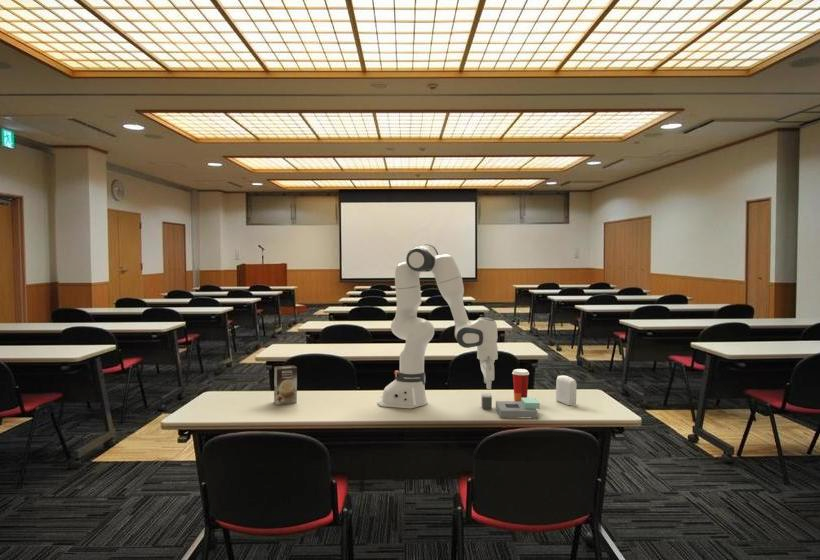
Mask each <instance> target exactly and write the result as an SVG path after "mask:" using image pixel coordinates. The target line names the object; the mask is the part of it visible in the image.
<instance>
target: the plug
mask: <svg viewBox="0 0 820 560" xmlns="http://www.w3.org/2000/svg"><path fill="white" fill-rule="evenodd" d="M492 401H493V396H492V393H491V392H481V402H480V404H481V406H482V407H481V409H482V408H483V409H482V410H492V409H493V408H492V407H493V404H492V403H493V402H492ZM484 408H485V409H484Z"/></svg>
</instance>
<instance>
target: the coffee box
mask: <svg viewBox="0 0 820 560" xmlns="http://www.w3.org/2000/svg"><path fill="white" fill-rule="evenodd" d="M273 376H274V377H273V378H274V379H273V381H274V382H273V383H274V386H273V387H274V391H273V402H274V403H275V404H276V406H277V405H278V406H279V405H287V404H288V405H289V404H297V402H298V401H297V399H298V398H297V397H298V396H297V395H298V394H297V393H298V389H297V388H298V367H297V366H296V365H281V366H280V365H278V366H274V375H273Z"/></svg>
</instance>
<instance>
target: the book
mask: <svg viewBox="0 0 820 560" xmlns="http://www.w3.org/2000/svg"><path fill="white" fill-rule="evenodd" d="M555 382H556V383H555V384H556V385H555V387H556V388H555V400H556V401H557V402H559V403H562V404H564V405H566V406H569V405H570V407H575V406H576V405H577V385H578V384H577V381H576V379H574V378H573V377H571V376H568V375H557V378H556V381H555Z"/></svg>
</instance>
